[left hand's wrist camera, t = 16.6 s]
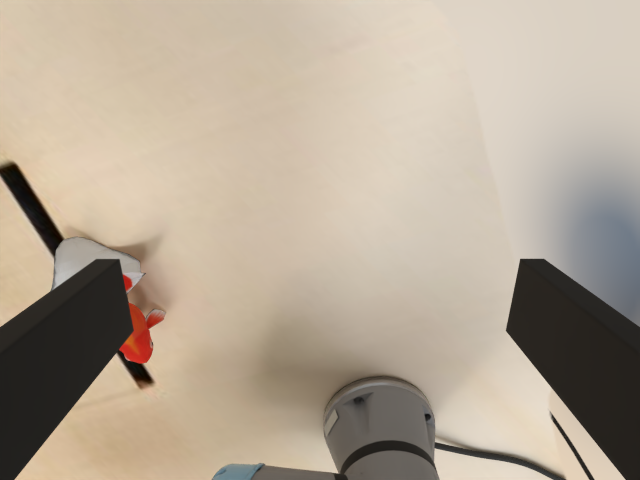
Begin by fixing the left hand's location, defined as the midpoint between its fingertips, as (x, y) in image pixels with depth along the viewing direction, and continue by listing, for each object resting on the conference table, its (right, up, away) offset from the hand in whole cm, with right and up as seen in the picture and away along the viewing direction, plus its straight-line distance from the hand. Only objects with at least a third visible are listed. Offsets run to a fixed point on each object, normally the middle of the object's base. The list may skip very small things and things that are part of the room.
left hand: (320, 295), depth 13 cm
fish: (-24, -4, +34) cm, 41 cm away
